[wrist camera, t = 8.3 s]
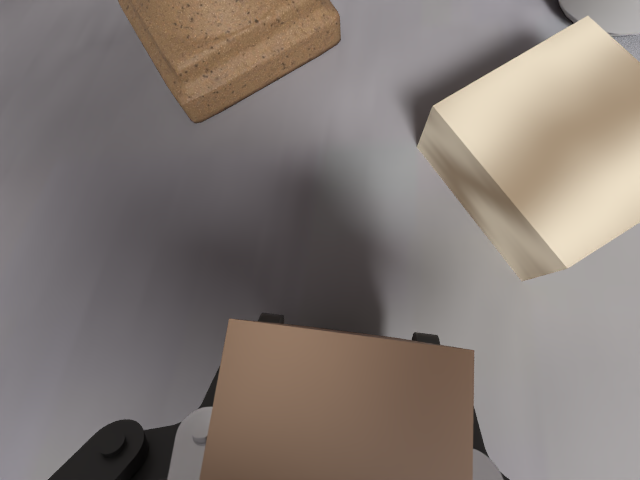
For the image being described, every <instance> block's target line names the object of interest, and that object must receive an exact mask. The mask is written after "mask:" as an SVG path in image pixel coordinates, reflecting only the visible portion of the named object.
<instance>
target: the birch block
mask: <svg viewBox="0 0 640 480" xmlns="http://www.w3.org/2000/svg"><path fill="white" fill-rule="evenodd" d="M417 148H418V149H419V150H420V151H421V153H422V154H423V155H424V157H425V158H426V159H427V160H428V162H429V163H430V164H431V166H432V167H433V168H434V169H435V171H436V172H437V173H438V175H439V176H440V177H441V178H442V180H443V181H444V182H445V183H446V185H447V186H448V187H449V189H450V190H451V191H452V192H453V194H454V195H455V196H456V198H457V199H458V200H459V201H460V203H461V204H462V205H463V207H464V208H465V209H466V210H467V212H468V213H469V214H470V216H471V217H472V218H473V219H474V221H475V222H476V223H477V224H478V226H479V227H480V228H481V230H482V231H483V232H484V233H485V235H486V236H487V237H488V239H489V240H490V241H491V242H492V244H493V245H494V246H495V248H496V249H497V250H498V251H499V253H500V254H501V255H502V257H503V258H504V259H505V260H506V262H507V263H508V264H509V266H510V267H511V268H512V269H513V271H514V272H515V273H516V274H517V276H518V277H519V278H520V280H521V281H525V280H529V279H532V278H536V277H539V276H543V275H546V274H550V273H554V272H557V271H561V270H564V269H568V268H569V267H571V266H572V265H574V264H575V263H577V262H579V261H580V260H582V259H583V258H585V257H586V256H588V255H589V254H591V253H593V252H594V251H596V250H597V249H599V248H600V247H602V246H604V245H605V244H607V243H608V242H610V241H611V240H613V239H614V238H616V237H618V236H619V235H621V234H622V233H624V232H625V231H627V230H629V229H630V228H632V227H633V226H635V225H636V224H638V223H640V62H639V61H637V60H636V59H635V58H634V57H633V56H632V55H631V54H630V53H629V52H628V51H627V50H625V49H624V48H623V47H622V46H621V45H620V44H619V43H618V42H617V41H616V40H614V39H613V38H612V37H611V36H610V35H609V34H608V33H607V32H606V31H605V30H603V29H602V28H601V27H600V26H599V25H598V24H597V23H596V22H595V21H594V20H592V19H591V18H590V17H589V16H586V17H584V18H583V19H581V20H579V21H578V22H576V23H574V24H572V25H571V26H569V27H567V28H566V29H564V30H562V31H560V32H559V33H557V34H555V35H554V36H552V37H550V38H548V39H547V40H545V41H543V42H541V43H540V44H538V45H536V46H535V47H533V48H531V49H529V50H528V51H526V52H524V53H523V54H521V55H519V56H517V57H516V58H514V59H512V60H511V61H509V62H507V63H505V64H504V65H502V66H500V67H498V68H497V69H495V70H493V71H492V72H490V73H488V74H486V75H485V76H483V77H481V78H480V79H478V80H476V81H474V82H473V83H471V84H469V85H468V86H466V87H464V88H462V89H461V90H459V91H457V92H455V93H454V94H452V95H450V96H449V97H447V98H445V99H443V100H442V101H440V102H438V103H437V104H435V105H433V106H432V109H431V111H430V114H429V116H428V119H427V122H426V124H425V127H424V130H423V132H422V135H421V138H420V140H419V143H418V146H417Z"/></svg>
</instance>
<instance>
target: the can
mask: <svg viewBox="0 0 640 480" xmlns="http://www.w3.org/2000/svg"><path fill="white" fill-rule="evenodd" d="M559 5H560V7H561V9H562V10H563V12H564V13H565V15H566V17H568V18H569V19H570V20H571V21H572V22H574V23H576V22H578V21H579V20H581V19H583V18H584V17H586V16H589V17H590V18H591V19H592V20H594V21H595V22H596V23H597V24H598V25H599V26H600V27H601V28H602V29H603V30H605V31H606V32H607V33H608V34H609V35H610V36H627V35H630V34H640V0H559Z"/></svg>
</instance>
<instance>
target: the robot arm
mask: <svg viewBox="0 0 640 480" xmlns="http://www.w3.org/2000/svg"><path fill="white" fill-rule="evenodd" d="M258 321H259V322H270V323H280V324H284V316H283V315H278V314H270V313H262V314H261V315H260V318H259V320H258ZM412 341H418V342H425V343H431V344H437V345H440V342H439V338H438V336H437V335H432V334H424V333H417V332H414V334H413V337H412ZM220 365H221V364H220ZM219 370H220V367H219V369H218V371H217V373H216V375H215V377H214V379H213V381H212V383H211V385H210V387H209V390H208V392H207V394H206V396H205V398H204V400H203V402H202V404H201V406H200V407H199V408H198V409H197V410H195V411H193V412H192V413H190V414H189V415H188V416H187V417H186V418H185V419H184V420H183V421H182V422H180V423H178V424H175V425H171V426H166V427H160V428H155V429H149V430H143V428H142V426H141V425H140V424H139V423H138V422H136V421H134V420H119V421H115V422H113V423H110V424H108V425H107V426H105V427H103V428H102V429H100V430H99V431H98V432H97V433H96V434H95V435H93V436H92V437H91V438H90V439H89V440H88V441H87V442H86V443H85V444H84V445H83V446H82V447H81V448H80V449H79V450H78V451H77V452H76V453H75V454H74V455H73V456H72V457H71V458H70V459H69V460H68V461H67V462H66V463H65V464H64V465H63V466H62V467H60V468H59V469H58V470H57V471H56V472H55V473H54V474H53V475H52V476H51V477H50V478H49V479H48V480H199V478H200V472H201V467H202V462H203V456H204V451H205V445H206V440H207V435H208V429H209V424H210V419H211V413H212V408H213V402H214V397H215V392H216V386H217V381H218V375H219ZM473 480H509V479H508V478H507V477H505V476H504V475H503V474H502V473H501V472H500V471H499V469H498V468H497V466H496V465H495V464H494V463H493V462H492V460H491V459H490V458H489V456H488V454H487V452H486V450H485V447H484V443H483V439H482V435H481V432H480V428H479V424H478V421H477V417H476V413H475V409H474V406H473Z"/></svg>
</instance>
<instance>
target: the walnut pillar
mask: <svg viewBox="0 0 640 480" xmlns="http://www.w3.org/2000/svg"><path fill="white" fill-rule="evenodd" d="M473 404H474V350H469V349H462V348H456V347H450V346H444V345H437V344H431V343H425V342H418V341H412V340H406V339H400V338H393V337H386V336H378V335H370V334H362V333H355V332H347V331H339V330H331V329H324V328H316V327H308V326H300V325H290V324H280V323H270V322H259V321H249V320H239V319H229V322H228V327H227V332H226V338H225V343H224V349H223V354H222V359H221V365H220V370H219V375H218V381H217V386H216V392H215V397H214V402H213V408H212V413H211V419H210V424H209V429H208V435H207V440H206V445H205V451H204V456H203V462H202V467H201V472H200V478H199V480H473Z"/></svg>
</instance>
